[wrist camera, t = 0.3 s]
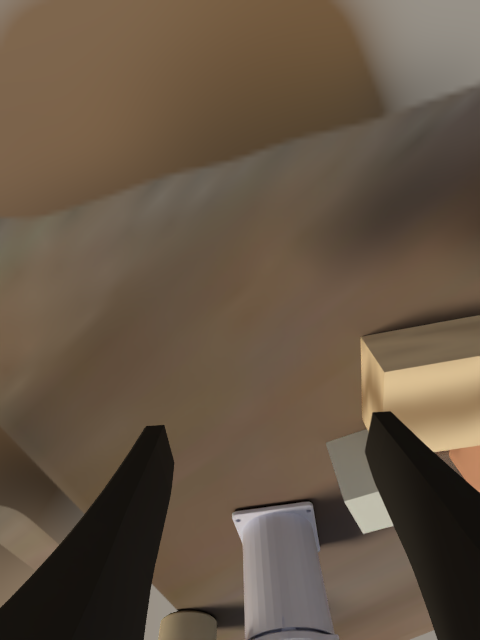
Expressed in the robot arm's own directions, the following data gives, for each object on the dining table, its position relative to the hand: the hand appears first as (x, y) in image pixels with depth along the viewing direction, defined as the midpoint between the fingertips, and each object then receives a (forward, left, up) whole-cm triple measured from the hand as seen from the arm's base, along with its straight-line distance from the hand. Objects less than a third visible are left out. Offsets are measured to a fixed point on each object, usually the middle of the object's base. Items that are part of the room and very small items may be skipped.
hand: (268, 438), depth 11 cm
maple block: (-8, -11, -10) cm, 17 cm away
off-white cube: (-16, -7, -10) cm, 20 cm away
